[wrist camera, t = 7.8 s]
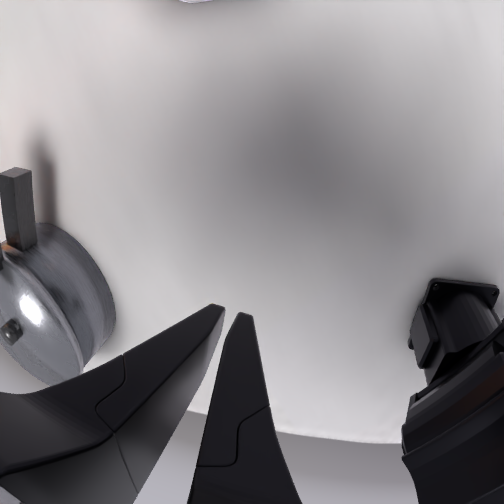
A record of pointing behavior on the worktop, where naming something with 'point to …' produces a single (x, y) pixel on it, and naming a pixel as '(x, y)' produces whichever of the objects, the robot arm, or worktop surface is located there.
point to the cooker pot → (57, 264)
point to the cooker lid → (35, 325)
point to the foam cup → (194, 1)
